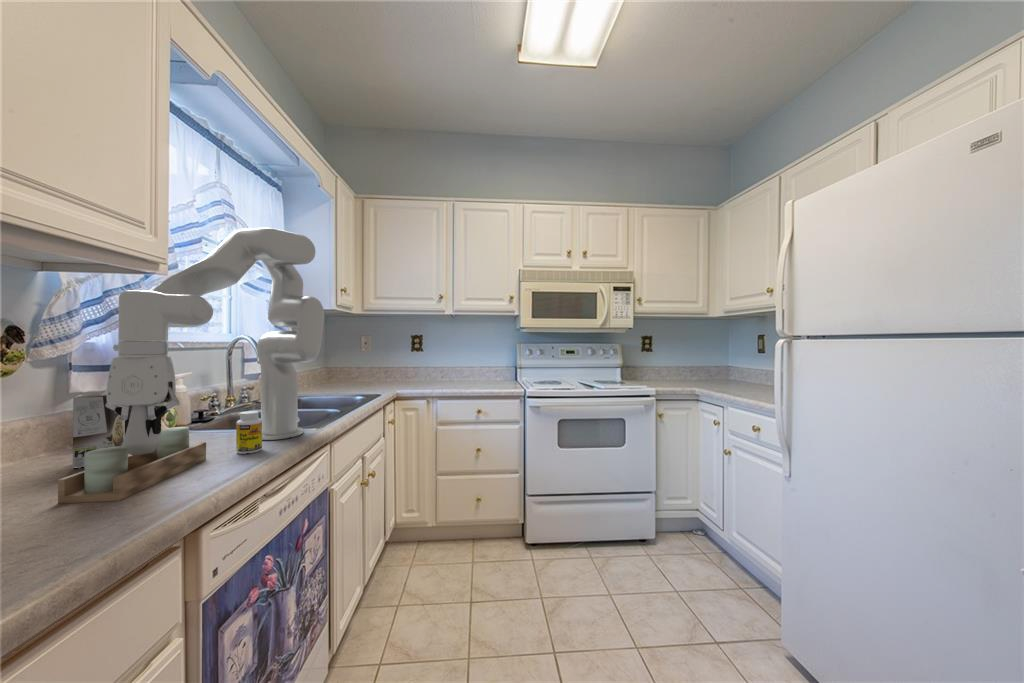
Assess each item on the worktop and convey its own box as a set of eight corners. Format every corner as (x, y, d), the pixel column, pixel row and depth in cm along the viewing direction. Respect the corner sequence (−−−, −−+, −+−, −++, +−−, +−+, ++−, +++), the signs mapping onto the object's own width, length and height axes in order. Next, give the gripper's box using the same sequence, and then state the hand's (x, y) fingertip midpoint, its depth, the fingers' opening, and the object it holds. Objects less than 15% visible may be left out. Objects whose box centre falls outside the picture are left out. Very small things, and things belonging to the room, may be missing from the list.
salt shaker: (144, 448, 84) (145, 388, 84) (168, 448, 83) (169, 388, 83) (114, 455, 78) (115, 391, 78) (140, 456, 77) (140, 392, 77)
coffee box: (111, 465, 88) (111, 395, 88) (71, 470, 85) (71, 397, 85) (126, 455, 96) (126, 390, 96) (90, 458, 93) (90, 392, 93)
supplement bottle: (235, 455, 96) (235, 415, 96) (237, 450, 101) (237, 411, 101) (261, 452, 99) (262, 412, 99) (262, 447, 104) (262, 409, 104)
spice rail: (161, 461, 92) (161, 426, 92) (206, 459, 93) (206, 425, 93) (58, 503, 68) (58, 457, 68) (119, 500, 69) (119, 455, 69)
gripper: (81, 350, 76) (81, 443, 76) (174, 350, 78) (173, 441, 78) (115, 349, 83) (114, 434, 83) (198, 349, 85) (198, 432, 85)
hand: (143, 437), depth 80 cm, fingers closed on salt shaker, 3 cm apart
